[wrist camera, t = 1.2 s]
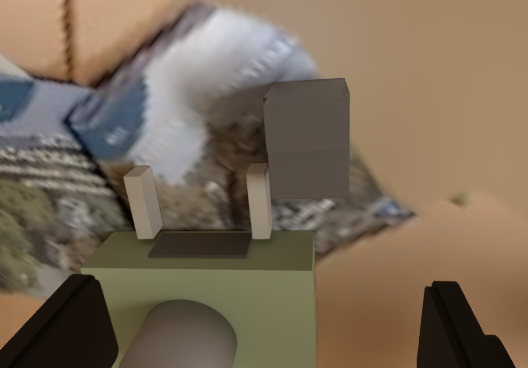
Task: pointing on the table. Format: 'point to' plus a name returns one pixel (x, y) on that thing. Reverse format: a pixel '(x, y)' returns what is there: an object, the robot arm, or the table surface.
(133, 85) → the table surface
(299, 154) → the dark grey block
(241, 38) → the table surface
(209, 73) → the table surface
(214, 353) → the green base with button
